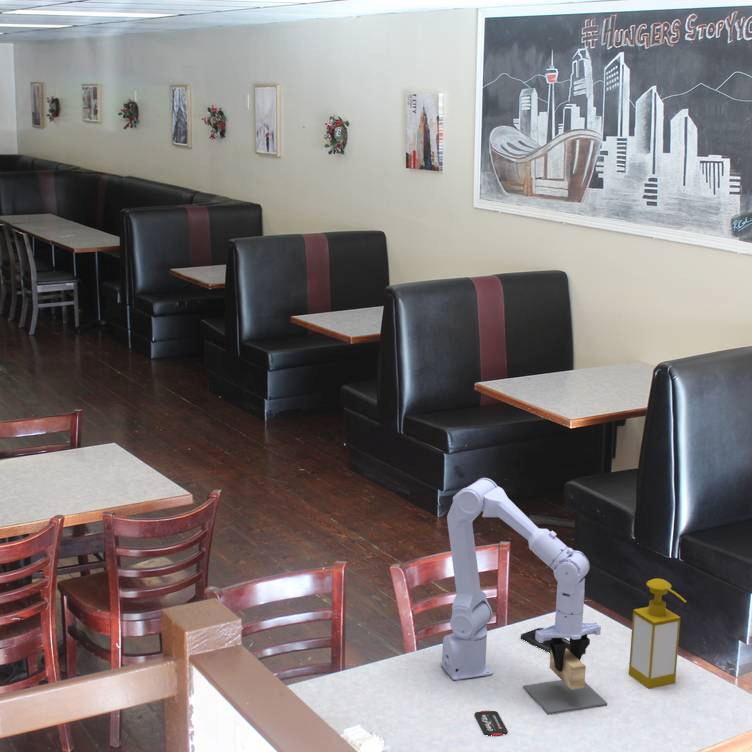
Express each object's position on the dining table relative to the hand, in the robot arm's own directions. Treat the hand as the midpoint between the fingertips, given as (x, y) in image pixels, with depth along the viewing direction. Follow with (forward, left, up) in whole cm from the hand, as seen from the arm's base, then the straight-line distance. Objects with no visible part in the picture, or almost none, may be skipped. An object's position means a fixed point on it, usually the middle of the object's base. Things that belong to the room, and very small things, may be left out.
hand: (566, 668), depth 235 cm
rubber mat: (0, 0, -7) cm, 7 cm away
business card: (-20, -6, -7) cm, 22 cm away
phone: (+9, +23, -7) cm, 26 cm away
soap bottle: (+23, -1, -7) cm, 24 cm away
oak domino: (0, 0, -2) cm, 2 cm away
